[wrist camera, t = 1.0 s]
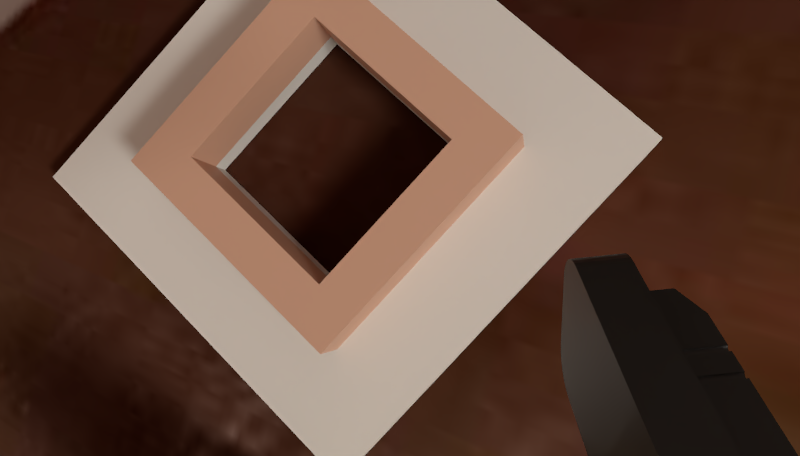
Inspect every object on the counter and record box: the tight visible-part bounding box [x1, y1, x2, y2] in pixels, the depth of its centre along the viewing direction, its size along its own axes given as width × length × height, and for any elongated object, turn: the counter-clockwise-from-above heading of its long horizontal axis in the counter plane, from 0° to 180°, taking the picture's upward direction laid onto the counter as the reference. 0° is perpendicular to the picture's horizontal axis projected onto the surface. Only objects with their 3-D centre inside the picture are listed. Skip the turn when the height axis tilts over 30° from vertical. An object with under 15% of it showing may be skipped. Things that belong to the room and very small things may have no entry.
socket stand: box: [53, 0, 662, 456], centre depth 32 cm, size 20×20×4 cm
